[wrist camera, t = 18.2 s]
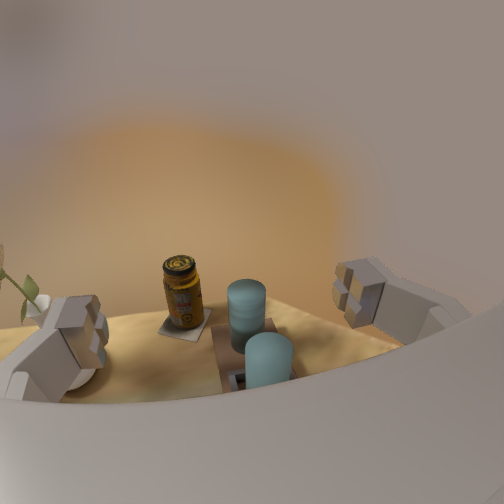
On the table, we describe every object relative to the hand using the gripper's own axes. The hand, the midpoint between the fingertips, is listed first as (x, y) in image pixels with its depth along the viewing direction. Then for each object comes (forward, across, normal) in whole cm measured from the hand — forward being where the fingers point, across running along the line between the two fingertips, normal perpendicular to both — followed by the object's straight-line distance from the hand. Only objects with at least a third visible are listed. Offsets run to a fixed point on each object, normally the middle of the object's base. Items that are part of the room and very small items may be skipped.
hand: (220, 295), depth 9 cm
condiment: (+32, +4, +30) cm, 44 cm away
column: (+12, -6, +27) cm, 31 cm away
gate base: (+17, -6, +30) cm, 35 cm away
